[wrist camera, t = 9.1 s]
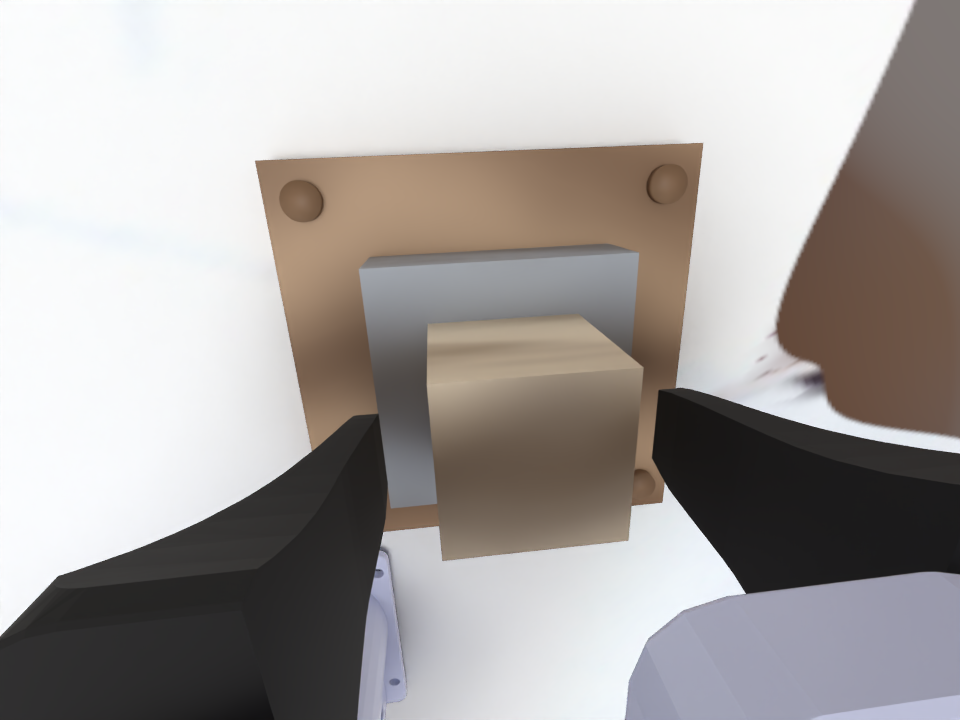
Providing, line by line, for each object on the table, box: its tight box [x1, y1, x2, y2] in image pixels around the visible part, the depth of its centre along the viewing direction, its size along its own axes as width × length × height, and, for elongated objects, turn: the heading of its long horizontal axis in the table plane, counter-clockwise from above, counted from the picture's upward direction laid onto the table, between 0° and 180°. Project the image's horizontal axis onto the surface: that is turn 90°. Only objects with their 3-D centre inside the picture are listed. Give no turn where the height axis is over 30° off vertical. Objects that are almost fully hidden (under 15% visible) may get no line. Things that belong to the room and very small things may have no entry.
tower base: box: [255, 143, 703, 532], centre depth 16 cm, size 14×14×4 cm
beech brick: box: [427, 314, 644, 561], centre depth 12 cm, size 4×4×4 cm
